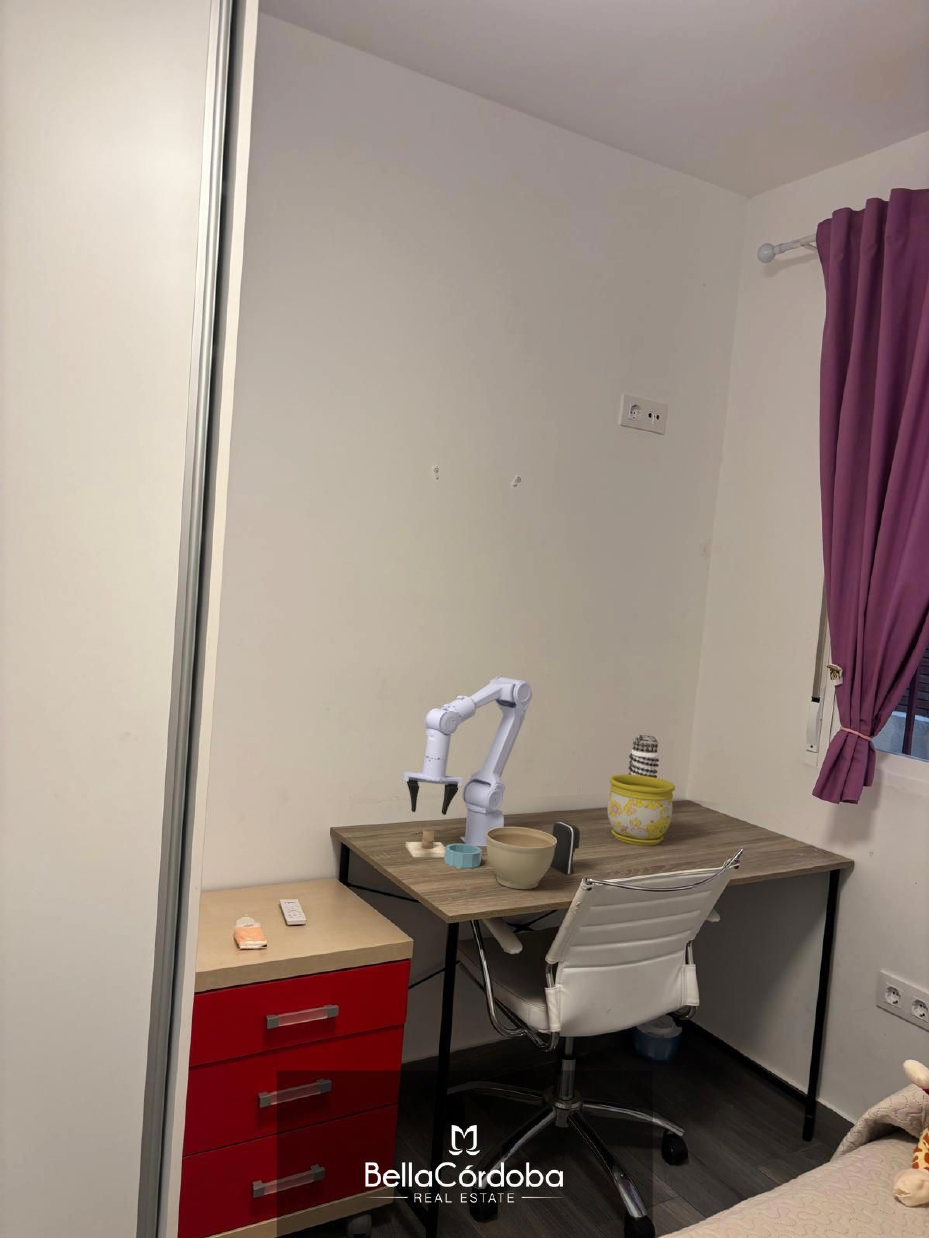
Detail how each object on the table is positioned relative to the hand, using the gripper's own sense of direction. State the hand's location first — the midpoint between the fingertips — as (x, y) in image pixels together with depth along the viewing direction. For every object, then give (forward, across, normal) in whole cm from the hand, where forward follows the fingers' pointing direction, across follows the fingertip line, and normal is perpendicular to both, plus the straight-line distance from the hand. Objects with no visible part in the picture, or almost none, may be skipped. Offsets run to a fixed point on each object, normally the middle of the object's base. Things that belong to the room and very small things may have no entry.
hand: (428, 812), depth 230 cm
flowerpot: (+6, +64, +18) cm, 67 cm away
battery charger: (+9, +33, -11) cm, 36 cm away
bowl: (+10, +8, -8) cm, 15 cm away
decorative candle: (+4, +75, +44) cm, 87 cm away
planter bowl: (+10, +18, -21) cm, 30 cm away
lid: (+10, +1, 0) cm, 10 cm away
